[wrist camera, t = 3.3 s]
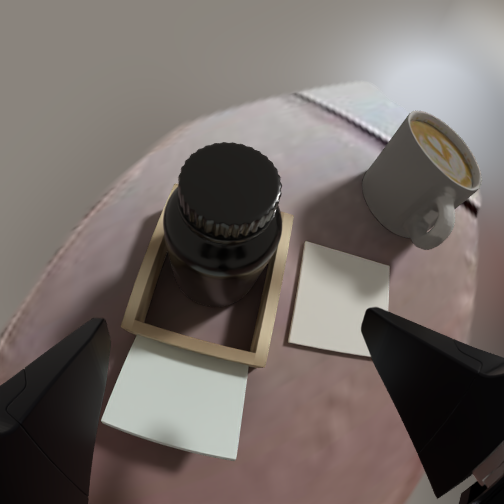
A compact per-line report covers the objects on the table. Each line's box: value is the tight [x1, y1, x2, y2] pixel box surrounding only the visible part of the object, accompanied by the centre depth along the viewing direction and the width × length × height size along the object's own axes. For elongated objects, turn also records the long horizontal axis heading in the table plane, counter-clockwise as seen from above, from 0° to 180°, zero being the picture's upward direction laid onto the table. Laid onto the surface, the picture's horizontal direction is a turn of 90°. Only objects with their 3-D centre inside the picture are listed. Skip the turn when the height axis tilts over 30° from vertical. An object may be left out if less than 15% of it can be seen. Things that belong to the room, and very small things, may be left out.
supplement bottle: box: [163, 142, 282, 307], centre depth 18 cm, size 7×7×12 cm
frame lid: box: [101, 335, 249, 461], centre depth 17 cm, size 7×8×4 cm
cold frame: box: [121, 184, 294, 368], centre depth 22 cm, size 12×10×3 cm
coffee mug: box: [362, 111, 482, 250], centre depth 25 cm, size 13×10×10 cm
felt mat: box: [288, 241, 390, 357], centre depth 24 cm, size 9×9×1 cm
